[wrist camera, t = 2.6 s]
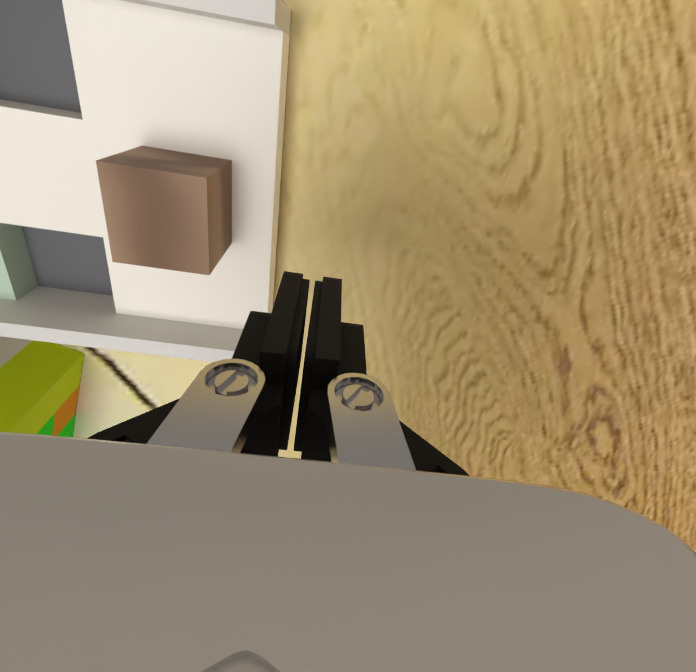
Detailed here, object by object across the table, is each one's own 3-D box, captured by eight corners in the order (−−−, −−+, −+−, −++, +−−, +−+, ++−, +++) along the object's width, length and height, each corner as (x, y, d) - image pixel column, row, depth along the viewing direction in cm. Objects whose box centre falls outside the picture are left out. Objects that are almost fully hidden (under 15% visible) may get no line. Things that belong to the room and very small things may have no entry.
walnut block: (231, 160, 21) (206, 178, 17) (231, 243, 23) (209, 275, 20) (142, 145, 21) (95, 160, 17) (151, 231, 23) (112, 261, 19)
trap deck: (291, 11, 20) (274, -11, 15) (271, 325, 29) (257, 372, 25) (-234, -91, 18) (-440, -152, 13) (-72, 281, 27) (-158, 322, 23)
